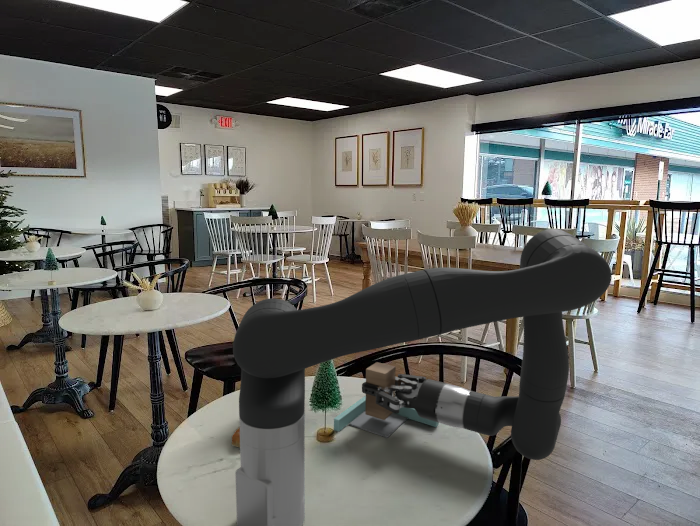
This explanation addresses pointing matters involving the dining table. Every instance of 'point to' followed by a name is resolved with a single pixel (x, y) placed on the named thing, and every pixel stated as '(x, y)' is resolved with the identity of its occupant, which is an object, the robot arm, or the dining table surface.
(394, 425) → the teal corner fixture
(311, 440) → the dining table surface
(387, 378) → the walnut block
